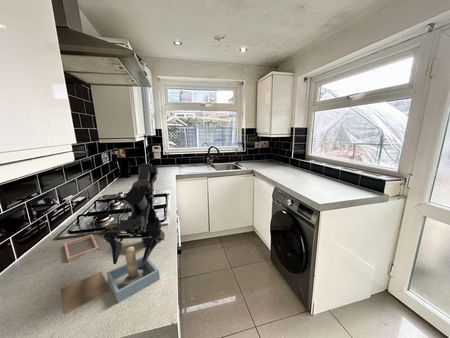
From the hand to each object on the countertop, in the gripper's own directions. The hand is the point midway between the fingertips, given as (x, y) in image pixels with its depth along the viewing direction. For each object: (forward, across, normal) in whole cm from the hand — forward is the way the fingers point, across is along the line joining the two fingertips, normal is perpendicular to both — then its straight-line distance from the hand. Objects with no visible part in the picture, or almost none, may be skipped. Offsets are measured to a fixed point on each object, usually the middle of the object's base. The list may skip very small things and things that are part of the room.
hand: (129, 263), depth 61 cm
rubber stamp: (+5, 0, +7) cm, 8 cm away
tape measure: (-20, -27, +33) cm, 47 cm away
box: (+5, 0, +7) cm, 9 cm away
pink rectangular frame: (-11, -33, +23) cm, 41 cm away
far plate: (+7, -14, +5) cm, 16 cm away
